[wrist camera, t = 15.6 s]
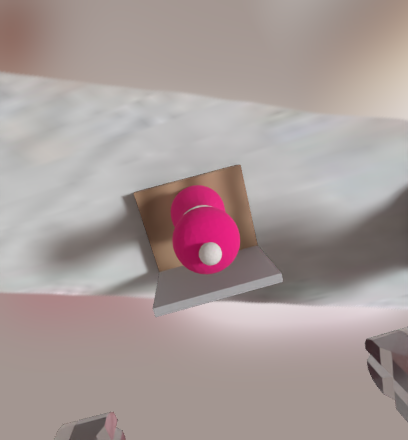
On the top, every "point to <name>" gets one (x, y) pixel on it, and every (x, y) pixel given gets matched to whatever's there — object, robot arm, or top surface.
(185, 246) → the pepper mill
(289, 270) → the top surface
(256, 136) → the top surface
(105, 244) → the top surface
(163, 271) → the bookend
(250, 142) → the top surface
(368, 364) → the robot arm
